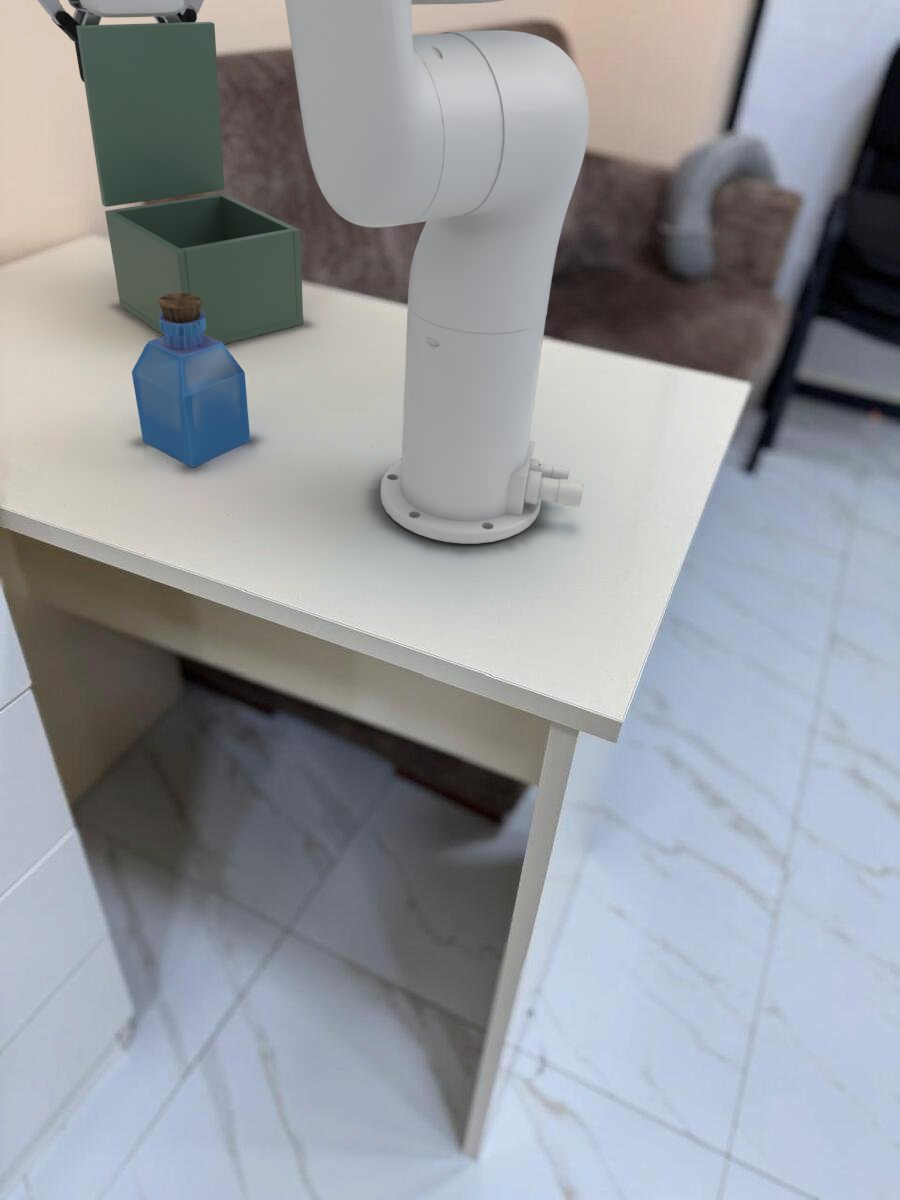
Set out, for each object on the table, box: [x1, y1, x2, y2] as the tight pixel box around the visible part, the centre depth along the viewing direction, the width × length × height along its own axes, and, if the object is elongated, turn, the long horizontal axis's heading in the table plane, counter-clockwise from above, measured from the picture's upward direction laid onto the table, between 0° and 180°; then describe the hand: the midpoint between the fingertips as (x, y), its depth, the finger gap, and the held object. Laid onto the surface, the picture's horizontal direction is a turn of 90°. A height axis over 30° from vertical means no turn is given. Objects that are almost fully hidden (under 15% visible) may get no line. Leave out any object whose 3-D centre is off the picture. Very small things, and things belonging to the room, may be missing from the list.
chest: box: [104, 193, 304, 345], centre depth 94 cm, size 15×14×10 cm
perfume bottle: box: [131, 293, 251, 468], centre depth 72 cm, size 6×6×12 cm
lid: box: [76, 21, 225, 208], centre depth 91 cm, size 16×14×5 cm
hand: (136, 87), depth 91 cm, fingers open, 7 cm apart
